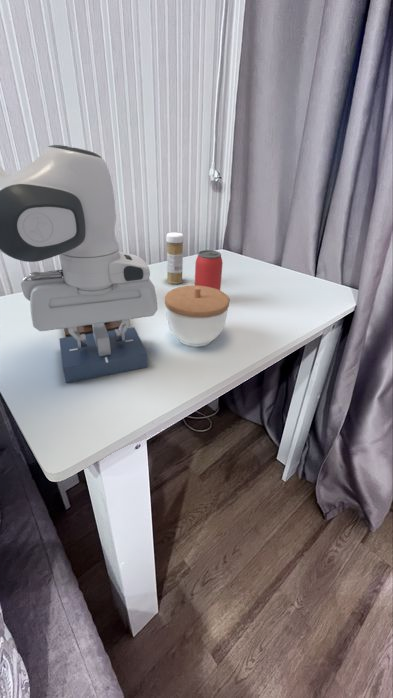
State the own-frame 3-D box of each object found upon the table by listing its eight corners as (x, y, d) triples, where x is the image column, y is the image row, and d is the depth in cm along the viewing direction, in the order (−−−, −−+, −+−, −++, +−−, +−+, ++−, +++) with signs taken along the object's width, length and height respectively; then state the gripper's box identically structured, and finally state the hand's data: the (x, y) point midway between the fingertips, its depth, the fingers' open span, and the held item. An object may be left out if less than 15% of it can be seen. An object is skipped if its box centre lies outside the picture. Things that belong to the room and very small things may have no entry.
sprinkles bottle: (180, 278, 97) (181, 231, 90) (184, 284, 94) (185, 235, 86) (165, 279, 96) (164, 231, 89) (168, 285, 93) (167, 236, 85)
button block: (66, 344, 65) (63, 326, 63) (63, 323, 72) (60, 306, 70) (127, 334, 69) (126, 317, 67) (119, 316, 76) (117, 300, 74)
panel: (66, 385, 55) (62, 369, 53) (62, 350, 63) (59, 335, 61) (148, 369, 59) (148, 354, 58) (134, 338, 68) (133, 324, 66)
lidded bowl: (201, 318, 77) (203, 272, 71) (237, 342, 68) (244, 292, 62) (153, 333, 70) (152, 283, 64) (188, 361, 62) (189, 307, 56)
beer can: (223, 303, 84) (228, 256, 78) (199, 306, 82) (202, 258, 75) (213, 293, 89) (216, 248, 83) (190, 296, 87) (191, 250, 81)
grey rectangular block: (111, 354, 57) (108, 336, 55) (99, 356, 57) (96, 337, 55) (104, 335, 63) (102, 317, 61) (93, 336, 62) (91, 319, 60)
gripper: (17, 281, 46) (38, 362, 53) (159, 268, 53) (160, 342, 60) (19, 266, 51) (38, 343, 58) (149, 256, 58) (151, 326, 65)
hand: (101, 342), depth 59 cm, fingers open, 5 cm apart
